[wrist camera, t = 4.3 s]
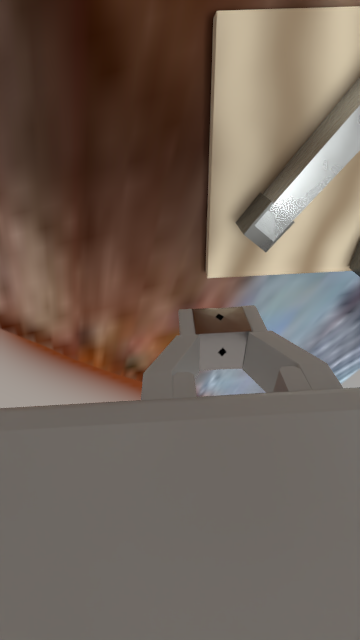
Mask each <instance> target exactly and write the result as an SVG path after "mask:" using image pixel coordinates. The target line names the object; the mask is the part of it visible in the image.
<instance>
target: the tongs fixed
mask: <svg viewBox="0 0 360 640" xmlns="http://www.w3.org/2000/svg"><path fill="white" fill-rule="evenodd" d="M349 268H350V269H351V270H352V271H353V272H355V273H356V274H357V275H358V276H360V241H359V243H358V246H357V248H356V251H355V254H354V256H353V259H352V261H351V264H350V266H349Z"/></svg>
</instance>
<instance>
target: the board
mask: <svg viewBox="0 0 360 640" xmlns="http://www.w3.org/2000/svg"><path fill="white" fill-rule="evenodd" d="M359 77H360V6H355V7H323V8H292V9H260V10H228V11H217V12H216V14H215V16H214V18H213V45H212V78H211V111H210V143H209V176H208V209H207V242H206V275H207V278H219V277H238V276H257V275H277V274H296V273H316V272H335V271H352V270H351V269H350V268H349V266H350V264H351V261H352V259H353V256H354V254H355V251H356V248H357V246H358V243H359V241H360V151H359V152H358V153H357V154H356V155H355V156H354V157H353V158H352V159H351V160H350V161H349V162H348V163H347V164H346V165H345V167H344V168H343V169H342V170H341V171H340V172H339V173H338V174H337V175H336V176H335V177H334V178H333V179H332V180H331V181H330V182H329V183H328V184H327V186H326V187H325V188H324V189H323V190H322V191H321V192H320V193H319V194H318V195H317V196H316V197H315V198H314V199H313V200H312V201H311V202H310V203H309V205H308V206H307V207H306V208H305V209H304V210H303V211H302V212H301V213H300V214H299V215H298V216H297V217H296V218H295V219H294V220H293V221H294V222H295V223H294V224H293V225H292V226H291V227H290V228H289V229H288V230H287V231H286V232H285V233H284V234H283V235H282V236H281V237H280V238H279V239H278V240H277V241H276V243H275V244H274V245H273V246H272V247H271V248H270V249H269V250H268V251H267V252H265V251H263V250H262V249H261V248H260V247H258V246H257V245H256V244H255V243H253V242H252V241H251V240H250V239H248V238H247V237H246V236H245V235H244V234H243V233H242V232H241V230H240V229H239V227H238V226H237V224H236V221H237V220H238V219H239V218H240V216H241V215H242V214H243V213H244V212H245V210H246V209H247V208H248V207H249V206H250V204H251V203H252V202H253V201H254V200H255V198H256V197H257V196H258V195H259V194H260V193H263V192H264V191H265V190H266V189H267V187H268V186H269V185H270V184H271V183H272V181H273V180H274V179H275V178H276V177H277V175H278V174H279V173H280V172H281V171H282V169H283V168H284V167H285V166H286V165H287V163H288V162H289V161H290V160H291V159H292V157H293V156H294V155H295V154H296V153H297V151H298V150H299V149H300V148H301V147H302V145H303V144H304V143H305V142H306V141H307V140H308V138H309V137H310V136H311V135H312V134H313V132H314V131H315V130H316V129H317V128H318V126H319V125H320V124H321V123H322V122H323V120H324V119H325V118H326V117H327V116H328V114H329V113H330V112H331V111H332V110H333V108H334V107H335V106H336V105H337V104H338V102H339V101H340V100H341V99H342V98H343V96H344V95H345V94H346V93H347V92H348V90H349V89H350V88H351V87H352V86H353V84H354V83H355V82H356V81H357V80H358V78H359Z"/></svg>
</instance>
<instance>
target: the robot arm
mask: <svg viewBox="0 0 360 640" xmlns="http://www.w3.org/2000/svg"><path fill="white" fill-rule="evenodd" d="M179 332H180V336H176V337H175V338H174V339H173V341H172V342H171V343H170V344H169V345H168V346H167V347H166V348H165V350H164V351H163V352H162V353H161V354H160V355H159V356H158V358H157V359H156V360H155V361H154V362H153V363H152V364H151V365H150V367H149V368H148V369H147V370H146V371H145V372H144V373H143V384H142V394H141V400H136V401H119V402H102V403H85V404H69V405H52V406H51V405H50V406H34V407H17V408H0V640H360V388H343V387H342V385H341V384H340V382H339V381H338V379H337V378H336V376H335V375H334V373H333V372H332V370H331V369H330V367H329V366H328V364H327V363H325V362H324V361H322V360H320V359H319V358H317V357H315V356H313V355H312V354H310V353H308V352H307V351H305V350H303V349H302V348H300V347H298V346H297V345H295V344H293V343H291V342H290V341H288V340H286V339H285V338H283V337H281V336H280V335H278V334H276V333H274V332H273V331H267V329H266V327H265V325H264V323H263V320H262V318H261V316H260V314H259V312H258V310H257V308H256V307H255V306H254V305H253V306H241V307H231V308H205V309H192V310H191V309H180V310H179ZM242 368H243V370H244V371H245V372H246V373H247V374H248V375H249V376H250V377H251V378H252V379H253V380H254V381H255V382H256V383H257V384H258V385H259V386H260V387H261V388H262V389H263V390H264V391H265V392H266V393H255V394H238V395H221V396H204V397H197V396H196V388H195V379H196V377H197V375H198V374H199V371H204V370H216V369H242Z"/></svg>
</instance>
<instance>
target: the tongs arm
mask: <svg viewBox="0 0 360 640" xmlns="http://www.w3.org/2000/svg"><path fill="white" fill-rule="evenodd" d="M359 151H360V77H359V78H358V80H357V81H356V82H355V83H354V84H353V86H352V87H351V88H350V89H349V90H348V92H347V93H346V94H345V95H344V96H343V98H342V99H341V100H340V101H339V102H338V104H337V105H336V106H335V107H334V108H333V110H332V111H331V112H330V113H329V114H328V116H327V117H326V118H325V119H324V120H323V122H322V123H321V124H320V125H319V126H318V128H317V129H316V130H315V131H314V132H313V134H312V135H311V136H310V137H309V138H308V140H307V141H306V142H305V143H304V144H303V145H302V147H301V148H300V149H299V150H298V151H297V153H296V154H295V155H294V156H293V157H292V159H291V160H290V161H289V162H288V163H287V165H286V166H285V167H284V168H283V169H282V171H281V172H280V173H279V174H278V175H277V177H276V178H275V179H274V180H273V181H272V183H271V184H270V185H269V186H268V187H267V189H266V190H265V191H264V192H263V193H260V194H259V195H258V196H257V197H256V198H255V200H254V201H253V202H252V203H251V204H250V206H249V207H248V208H247V209H246V210H245V212H244V213H243V214H242V215H241V216H240V218H239V219H238V220H237V221H236V224H237V226H238V227H239V229H240V230H241V232H242V233H243V234H244V235H245V236H246V237H247V238H248V239H250V240H251V241H252V242H253V243H255V244H256V245H257V246H258V247H260V248H261V249H262V250H263V251H265V252H267V251H268V250H269V249H270V248H271V247H272V246H273V245H274V244H275V243H276V241H277V240H278V239H279V238H280V237H281V236H282V235H283V234H284V233H285V232H286V231H287V230H288V229H289V228H290V227H291V226H292V225H293V224H294V223H295V222H294V221H293V220H294V219H295V218H296V217H297V216H298V215H299V214H300V213H301V212H302V211H303V210H304V209H305V208H306V207H307V206H308V205H309V203H310V202H311V201H312V200H313V199H314V198H315V197H316V196H317V195H318V194H319V193H320V192H321V191H322V190H323V189H324V188H325V187H326V186H327V184H328V183H329V182H330V181H331V180H332V179H333V178H334V177H335V176H336V175H337V174H338V173H339V172H340V171H341V170H342V169H343V168H344V167H345V165H346V164H347V163H348V162H349V161H350V160H351V159H352V158H353V157H354V156H355V155H356V154H357V153H358V152H359Z"/></svg>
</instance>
